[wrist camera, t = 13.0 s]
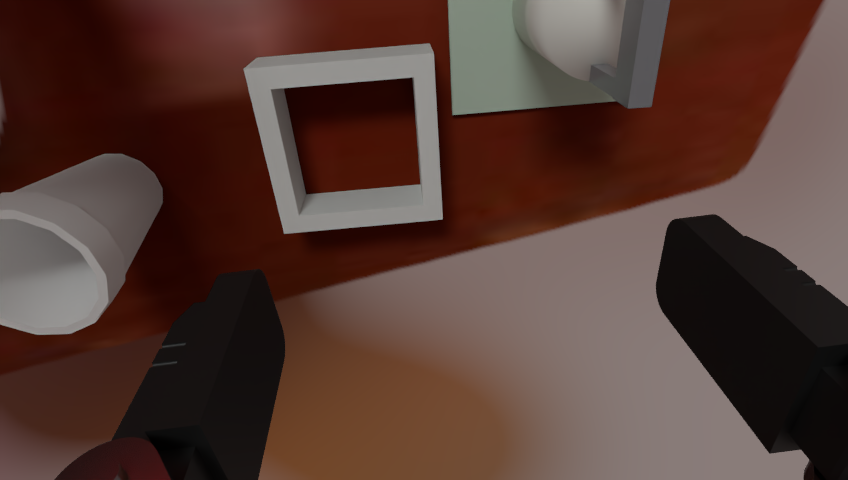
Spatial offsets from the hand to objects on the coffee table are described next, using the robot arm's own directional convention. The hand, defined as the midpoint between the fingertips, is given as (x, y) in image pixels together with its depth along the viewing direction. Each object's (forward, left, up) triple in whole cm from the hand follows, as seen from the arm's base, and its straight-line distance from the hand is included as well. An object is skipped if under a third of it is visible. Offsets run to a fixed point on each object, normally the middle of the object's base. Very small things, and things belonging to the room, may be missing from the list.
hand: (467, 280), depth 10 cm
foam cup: (+10, -25, -32) cm, 42 cm away
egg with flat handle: (-1, +11, -31) cm, 33 cm away
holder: (+7, -5, -31) cm, 33 cm away
